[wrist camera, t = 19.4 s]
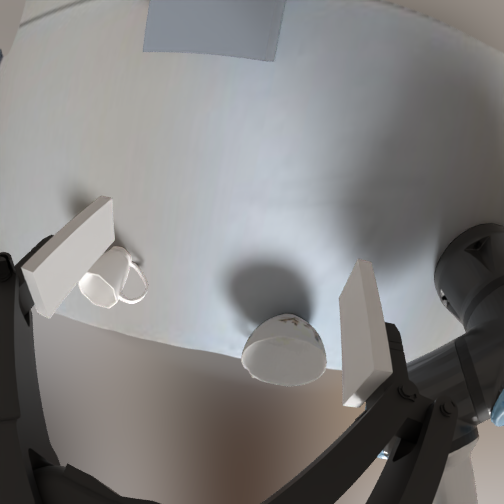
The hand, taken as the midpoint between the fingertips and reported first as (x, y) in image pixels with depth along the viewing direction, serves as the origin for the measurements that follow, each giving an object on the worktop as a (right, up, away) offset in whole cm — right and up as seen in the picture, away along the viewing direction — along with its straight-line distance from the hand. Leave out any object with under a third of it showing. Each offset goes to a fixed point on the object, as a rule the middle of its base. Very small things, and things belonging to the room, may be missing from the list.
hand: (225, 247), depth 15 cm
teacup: (+6, -13, +34) cm, 37 cm away
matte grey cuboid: (-1, +24, +9) cm, 26 cm away
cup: (-18, -2, +31) cm, 35 cm away
